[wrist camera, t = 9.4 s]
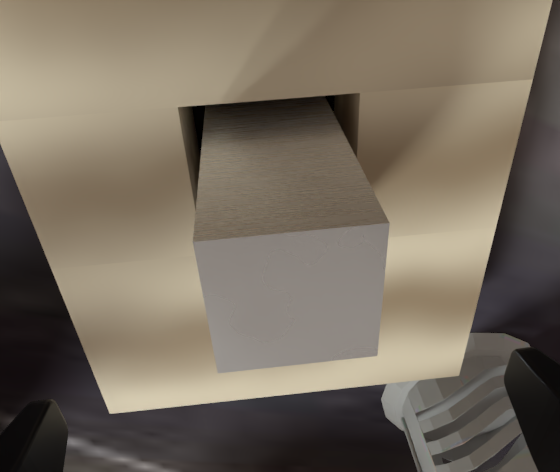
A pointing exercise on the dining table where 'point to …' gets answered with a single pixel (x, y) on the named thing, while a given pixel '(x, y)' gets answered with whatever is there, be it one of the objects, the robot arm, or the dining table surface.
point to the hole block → (186, 162)
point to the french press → (462, 412)
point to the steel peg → (286, 237)
